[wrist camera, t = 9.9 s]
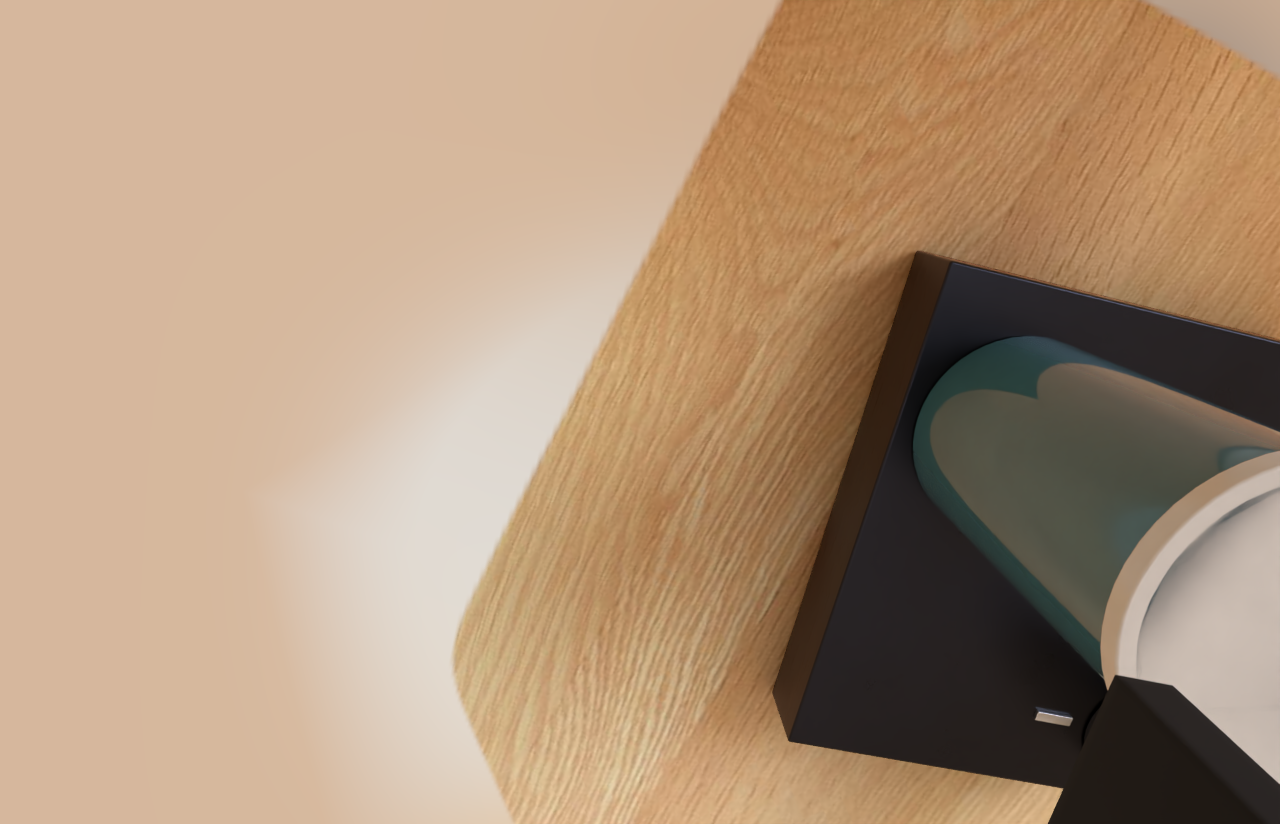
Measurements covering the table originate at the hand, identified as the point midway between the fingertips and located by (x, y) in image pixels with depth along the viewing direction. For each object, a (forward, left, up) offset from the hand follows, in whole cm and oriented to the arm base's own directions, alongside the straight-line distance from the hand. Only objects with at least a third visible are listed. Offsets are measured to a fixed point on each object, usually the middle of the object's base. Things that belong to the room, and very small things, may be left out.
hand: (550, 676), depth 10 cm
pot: (0, +15, -18) cm, 23 cm away
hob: (+5, +19, -21) cm, 29 cm away
